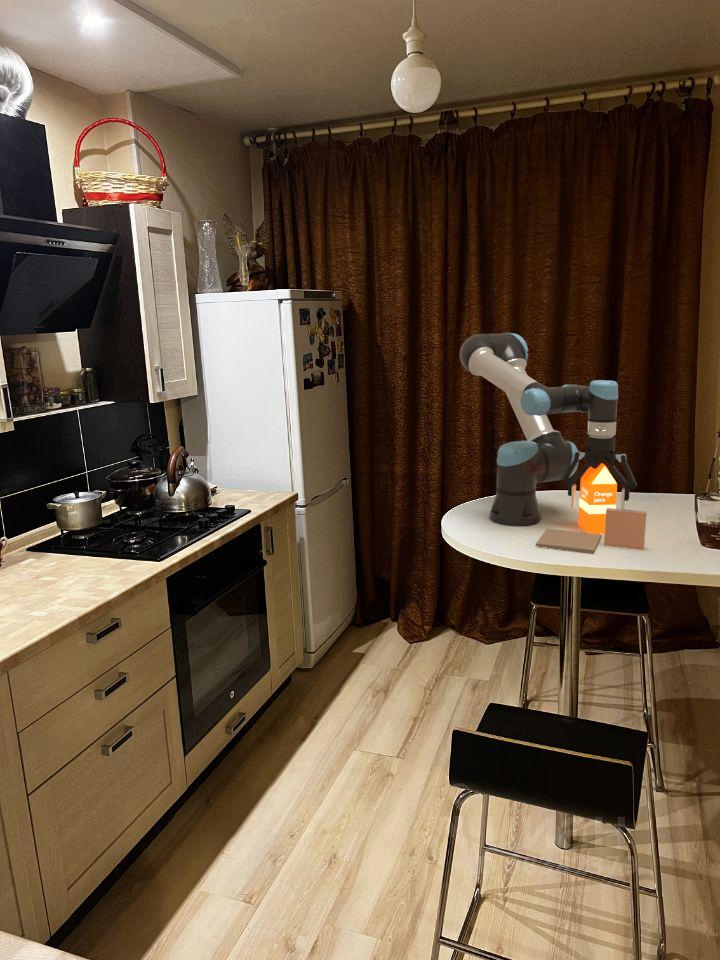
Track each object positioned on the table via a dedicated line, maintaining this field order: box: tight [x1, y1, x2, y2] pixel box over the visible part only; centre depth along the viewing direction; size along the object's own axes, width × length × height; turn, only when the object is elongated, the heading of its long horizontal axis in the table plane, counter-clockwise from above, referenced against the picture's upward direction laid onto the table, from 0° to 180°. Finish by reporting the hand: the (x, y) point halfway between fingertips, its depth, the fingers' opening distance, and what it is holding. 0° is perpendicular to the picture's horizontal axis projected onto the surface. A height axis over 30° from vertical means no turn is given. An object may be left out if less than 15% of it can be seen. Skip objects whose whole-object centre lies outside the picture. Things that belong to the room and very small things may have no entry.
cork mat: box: [535, 528, 603, 555], centre depth 200 cm, size 15×15×1 cm
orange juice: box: [577, 463, 618, 535], centre depth 209 cm, size 8×9×20 cm
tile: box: [603, 508, 648, 551], centre depth 194 cm, size 10×2×10 cm, turn 65°
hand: (597, 509), depth 209 cm, fingers open, 13 cm apart
